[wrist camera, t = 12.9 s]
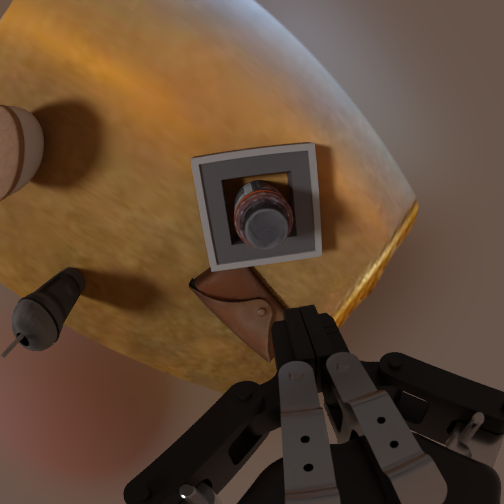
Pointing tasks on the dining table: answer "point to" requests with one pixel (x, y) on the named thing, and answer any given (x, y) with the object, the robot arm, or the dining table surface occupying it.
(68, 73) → the dining table surface
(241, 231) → the supplement bottle
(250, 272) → the sunglasses case
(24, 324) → the beverage cup
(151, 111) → the dining table surface
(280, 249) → the holder block
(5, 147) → the lidded bowl
